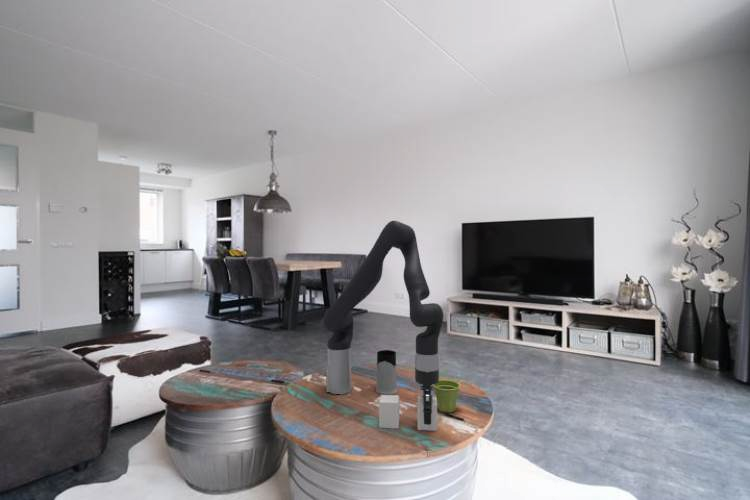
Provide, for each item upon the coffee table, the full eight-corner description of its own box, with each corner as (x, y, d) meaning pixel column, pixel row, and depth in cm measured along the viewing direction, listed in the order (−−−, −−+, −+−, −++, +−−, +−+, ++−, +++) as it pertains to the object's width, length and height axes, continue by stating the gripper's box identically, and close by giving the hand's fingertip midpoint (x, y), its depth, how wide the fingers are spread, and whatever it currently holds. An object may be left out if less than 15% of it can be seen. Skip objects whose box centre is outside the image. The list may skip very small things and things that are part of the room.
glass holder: (373, 393, 146) (373, 355, 146) (381, 380, 160) (381, 345, 160) (395, 395, 144) (395, 356, 144) (401, 382, 158) (401, 346, 158)
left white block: (379, 427, 118) (379, 402, 118) (381, 418, 124) (381, 394, 124) (398, 428, 117) (398, 403, 117) (399, 419, 123) (399, 395, 123)
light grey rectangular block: (417, 429, 117) (417, 404, 117) (417, 420, 123) (417, 396, 122) (437, 430, 116) (437, 404, 116) (436, 421, 122) (436, 397, 122)
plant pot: (444, 417, 125) (444, 391, 125) (427, 406, 133) (427, 382, 133) (465, 411, 129) (465, 386, 129) (448, 401, 138) (448, 378, 138)
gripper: (415, 359, 127) (415, 409, 127) (414, 373, 112) (415, 429, 112) (437, 360, 126) (438, 410, 126) (440, 374, 111) (440, 430, 112)
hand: (427, 419), depth 119 cm, fingers closed on light grey rectangular block, 6 cm apart
